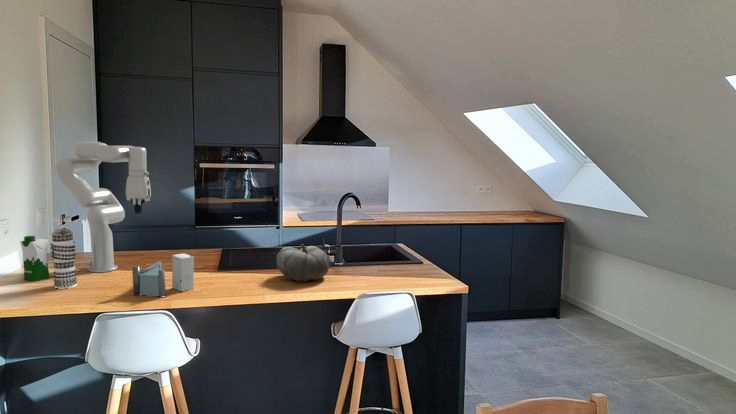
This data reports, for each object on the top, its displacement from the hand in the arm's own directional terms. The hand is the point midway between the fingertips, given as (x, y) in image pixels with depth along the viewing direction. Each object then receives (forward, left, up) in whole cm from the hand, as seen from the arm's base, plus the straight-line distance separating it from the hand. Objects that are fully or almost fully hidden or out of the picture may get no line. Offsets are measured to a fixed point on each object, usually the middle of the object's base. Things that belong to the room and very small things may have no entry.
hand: (138, 213), depth 237 cm
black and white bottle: (-21, -23, -30) cm, 43 cm away
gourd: (+76, +12, -30) cm, 83 cm away
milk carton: (-42, -15, -30) cm, 54 cm away
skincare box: (+30, -16, -30) cm, 46 cm away
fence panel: (+23, -28, -30) cm, 47 cm away
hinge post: (+16, -28, -30) cm, 44 cm away
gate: (+16, -17, -29) cm, 37 cm away
